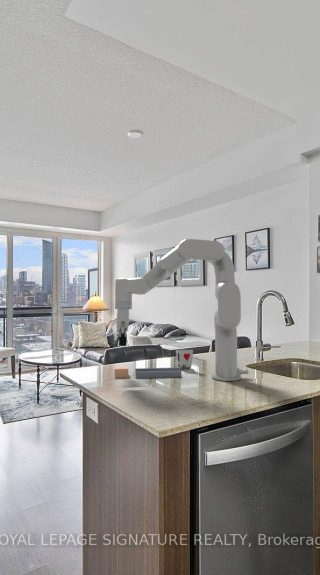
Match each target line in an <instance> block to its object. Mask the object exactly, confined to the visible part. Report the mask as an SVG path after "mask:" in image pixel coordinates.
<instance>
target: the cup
mask: <svg viewBox="0 0 320 575" xmlns="http://www.w3.org/2000/svg"><path fill="white" fill-rule="evenodd" d="M175 353H176V354H175V356H176V363H177V368H178V367H179V371H188V370H191V369H192V363H193V359H194V358H193V356H194V355H193V354H194V351H193V349H176V350H175Z"/></svg>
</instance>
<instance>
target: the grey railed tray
mask: <svg viewBox="0 0 320 575" xmlns="http://www.w3.org/2000/svg"><path fill="white" fill-rule="evenodd" d="M134 374H135V379H149V378H151V379H153V378H154V379H155V378H161V379H162V378H182V370H180V369H179V367H178V366H177V367H147V368H146V367H145V368H143V367H142V368H141V367H138V368H135V372H134Z"/></svg>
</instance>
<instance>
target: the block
mask: <svg viewBox="0 0 320 575" xmlns="http://www.w3.org/2000/svg"><path fill="white" fill-rule="evenodd" d="M113 370H114V378H115V379H117V378H129V366H115V367H114V369H113Z"/></svg>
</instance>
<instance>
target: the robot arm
mask: <svg viewBox="0 0 320 575" xmlns="http://www.w3.org/2000/svg"><path fill="white" fill-rule="evenodd" d="M193 259H194V260H202V261H206V262H208V263H209V264H211V265H212V266H213V269H214V276H215V278H214V279H215V282H214V283H215V287H214V288H215V289H214V290H215V291H214V295H215V298H216V299H217V310H216V311H215V312H214V317H213V322H214V336H215V337H214V351H215V352H214V354H215V355H214V356H215V359H214V361H215V373H213V374H212V375H211V378H212V379H213V380H216V381H219V382H220V381H221V382H235V381H239V380H241V379H242V376H241V375H249V369H243V368H239V367H238V332H237V330H238V329H237V328H238V326H239V325H240V323H241V319H242V306H241V305H242V302H241V300H242V299H241V298H242V296H241V290H240V288H239V286H238V285H237V284H236V277H235V266H234V262H233V261H232V258H231V257H230V255H229V254H228V253H227V252H226V249H225V247H224V245H223V244H222V243H221V242H220V241H217V240H210V239H209V240H207V239H197V238H196V239H195V238H185V239H183V240H181V241H180V243H179V244H178V245H177V246H176V247H174V248H173V249H172V250H171V251H169V252H168V253H166V254H165V255H164V256H163V257H161V258H160V259H159V260H158V261H157V262H156V263H155V264H154V266H153V267H152V268H151V269H150V270H149V271H147V272H146V273H145V274H143V275H142V276H141V277H132V278H128V277H120V278H119V277H118V278H116V279H115V282H114V284H115V286H114V309H115V310H117V311H116V332H117V333H118V332H119V336H118V346H119V347H127V342H128V339H127V338H128V335H127V332H128V331H129V325H130V310H132V309H133V295H141V296H142V295H146V294H147V293H149V292H150V291H152V290H153V289H154V288H156V286H158V285H159V284H161V283H162V282H163V281H164V280H166V279H168V278H169V277H171V276H172V275H173V274H174V273H176V272H177V271H178V270H179V269H181V268H183V267H184V266H185V265H186V264H188V263H189V262H190V261H191V260H193Z"/></svg>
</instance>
